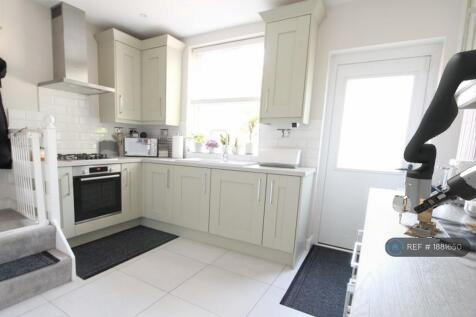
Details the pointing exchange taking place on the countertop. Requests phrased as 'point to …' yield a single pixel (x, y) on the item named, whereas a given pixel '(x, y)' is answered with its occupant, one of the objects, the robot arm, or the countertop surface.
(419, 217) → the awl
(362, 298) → the countertop surface
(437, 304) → the countertop surface
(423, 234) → the plank
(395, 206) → the wineglass
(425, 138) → the robot arm
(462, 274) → the countertop surface
